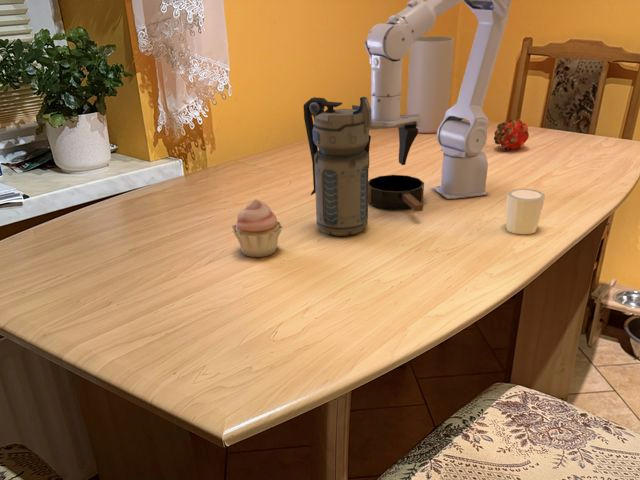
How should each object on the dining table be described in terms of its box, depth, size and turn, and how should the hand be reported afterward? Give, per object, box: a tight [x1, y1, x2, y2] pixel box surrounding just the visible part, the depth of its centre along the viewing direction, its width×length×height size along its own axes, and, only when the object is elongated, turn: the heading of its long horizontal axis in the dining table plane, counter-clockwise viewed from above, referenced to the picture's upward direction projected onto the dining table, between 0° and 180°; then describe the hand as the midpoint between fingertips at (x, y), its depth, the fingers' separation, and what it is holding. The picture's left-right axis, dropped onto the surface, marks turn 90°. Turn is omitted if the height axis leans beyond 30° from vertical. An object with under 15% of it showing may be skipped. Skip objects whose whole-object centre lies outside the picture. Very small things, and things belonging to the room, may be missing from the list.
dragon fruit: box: [493, 118, 530, 152], centre depth 172 cm, size 8×8×12 cm
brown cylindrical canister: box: [303, 96, 371, 237], centre depth 120 cm, size 10×13×25 cm
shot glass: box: [505, 188, 546, 235], centre depth 122 cm, size 7×7×7 cm
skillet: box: [368, 174, 425, 212], centre depth 135 cm, size 20×12×4 cm, turn 13°
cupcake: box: [231, 199, 284, 258], centre depth 115 cm, size 9×9×10 cm
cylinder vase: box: [406, 36, 455, 134], centre depth 189 cm, size 12×12×25 cm
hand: (384, 165), depth 129 cm, fingers open, 7 cm apart
